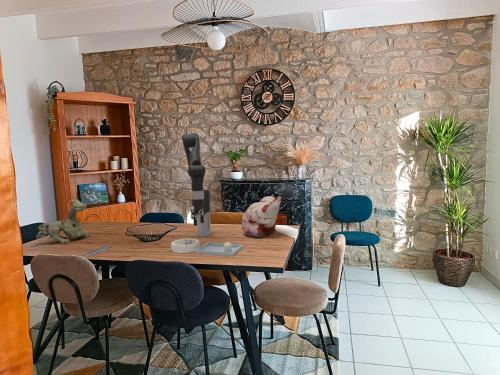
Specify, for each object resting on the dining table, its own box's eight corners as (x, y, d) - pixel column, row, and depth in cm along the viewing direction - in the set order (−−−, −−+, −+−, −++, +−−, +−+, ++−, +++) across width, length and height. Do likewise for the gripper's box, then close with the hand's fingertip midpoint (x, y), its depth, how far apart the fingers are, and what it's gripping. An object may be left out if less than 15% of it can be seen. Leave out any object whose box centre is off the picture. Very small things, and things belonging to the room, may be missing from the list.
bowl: (180, 246, 238) (180, 238, 237) (202, 247, 233) (202, 239, 232) (167, 253, 223) (167, 244, 222) (191, 254, 218) (190, 246, 217)
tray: (207, 246, 235) (207, 242, 235) (243, 248, 228) (242, 244, 227) (195, 254, 218) (194, 250, 218) (232, 257, 211) (232, 252, 210)
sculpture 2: (233, 236, 259) (233, 194, 255) (252, 227, 284) (252, 189, 280) (273, 242, 244) (275, 198, 240) (289, 233, 270) (291, 193, 266)
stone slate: (187, 246, 232) (186, 239, 232) (193, 247, 231) (193, 239, 230) (183, 248, 228) (183, 241, 228) (190, 249, 227) (189, 241, 226)
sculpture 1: (74, 246, 242) (60, 203, 238) (41, 254, 248) (26, 211, 244) (100, 233, 270) (88, 194, 266) (70, 240, 276) (57, 202, 272)
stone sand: (225, 249, 224) (225, 241, 223) (232, 250, 222) (232, 242, 222) (223, 251, 220) (222, 243, 219) (230, 252, 218) (229, 244, 218)
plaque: (82, 262, 210) (82, 261, 210) (69, 261, 213) (69, 260, 213) (118, 247, 241) (118, 246, 241) (106, 246, 244) (106, 245, 244)
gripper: (198, 196, 231) (199, 221, 232) (186, 199, 218) (187, 226, 219) (208, 196, 228) (209, 222, 230) (197, 199, 215) (198, 226, 217)
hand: (198, 224), depth 225 cm, fingers open, 8 cm apart
